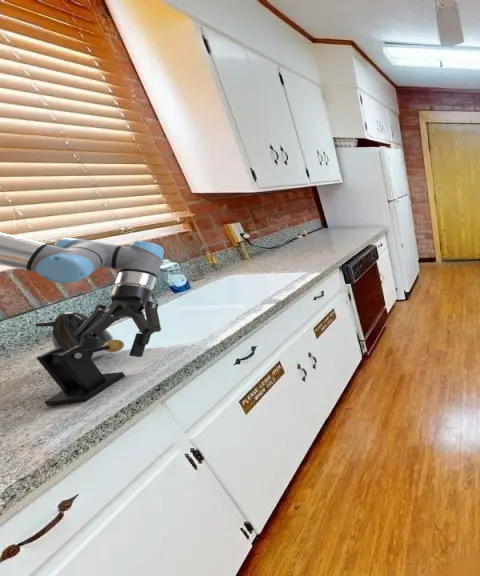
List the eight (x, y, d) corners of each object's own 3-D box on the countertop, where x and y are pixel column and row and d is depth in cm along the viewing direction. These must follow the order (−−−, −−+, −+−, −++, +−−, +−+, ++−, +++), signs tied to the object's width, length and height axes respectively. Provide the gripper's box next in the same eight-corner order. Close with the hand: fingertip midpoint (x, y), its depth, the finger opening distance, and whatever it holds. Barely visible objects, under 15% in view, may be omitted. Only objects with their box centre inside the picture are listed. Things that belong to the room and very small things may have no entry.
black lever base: (91, 379, 83) (63, 341, 77) (125, 375, 84) (100, 338, 79) (47, 406, 74) (12, 365, 68) (86, 402, 75) (55, 361, 70)
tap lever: (114, 350, 87) (112, 338, 86) (129, 349, 87) (127, 337, 87) (48, 366, 73) (46, 352, 73) (66, 364, 73) (64, 350, 73)
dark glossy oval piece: (59, 362, 90) (24, 318, 84) (110, 343, 98) (83, 303, 93) (74, 368, 86) (39, 323, 80) (126, 348, 95) (98, 307, 89)
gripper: (189, 290, 97) (171, 355, 89) (100, 295, 93) (74, 364, 85) (167, 281, 90) (146, 352, 83) (71, 286, 86) (39, 361, 78)
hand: (109, 358), depth 84 cm, fingers open, 12 cm apart
